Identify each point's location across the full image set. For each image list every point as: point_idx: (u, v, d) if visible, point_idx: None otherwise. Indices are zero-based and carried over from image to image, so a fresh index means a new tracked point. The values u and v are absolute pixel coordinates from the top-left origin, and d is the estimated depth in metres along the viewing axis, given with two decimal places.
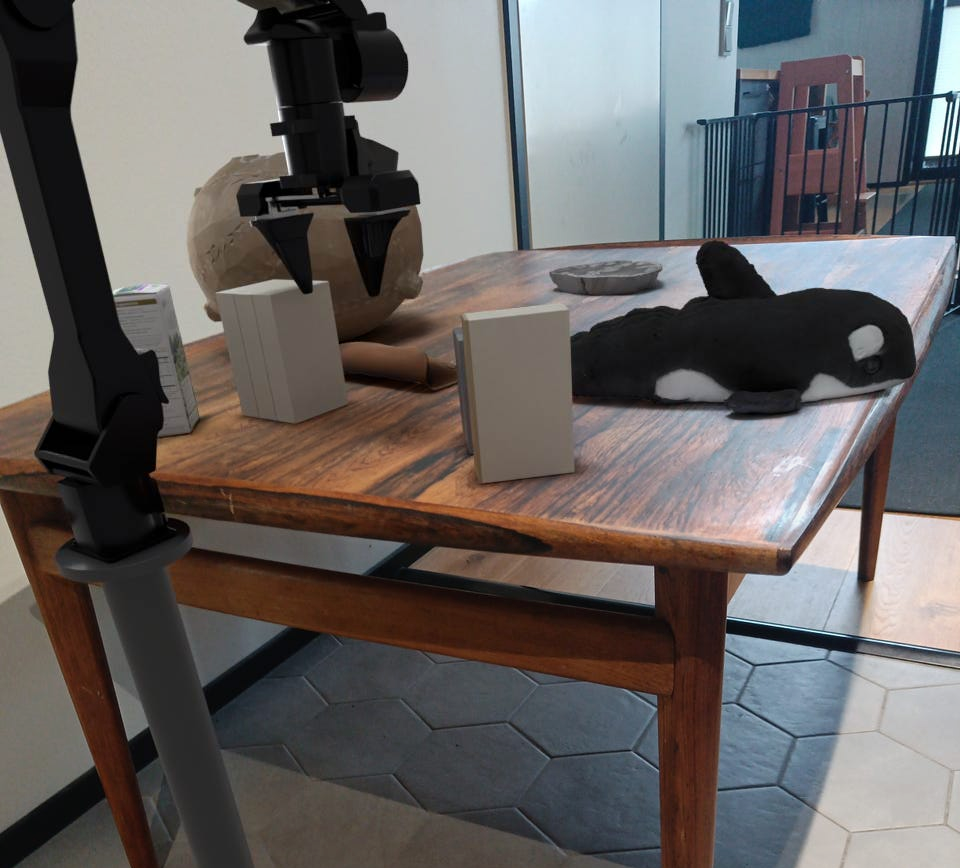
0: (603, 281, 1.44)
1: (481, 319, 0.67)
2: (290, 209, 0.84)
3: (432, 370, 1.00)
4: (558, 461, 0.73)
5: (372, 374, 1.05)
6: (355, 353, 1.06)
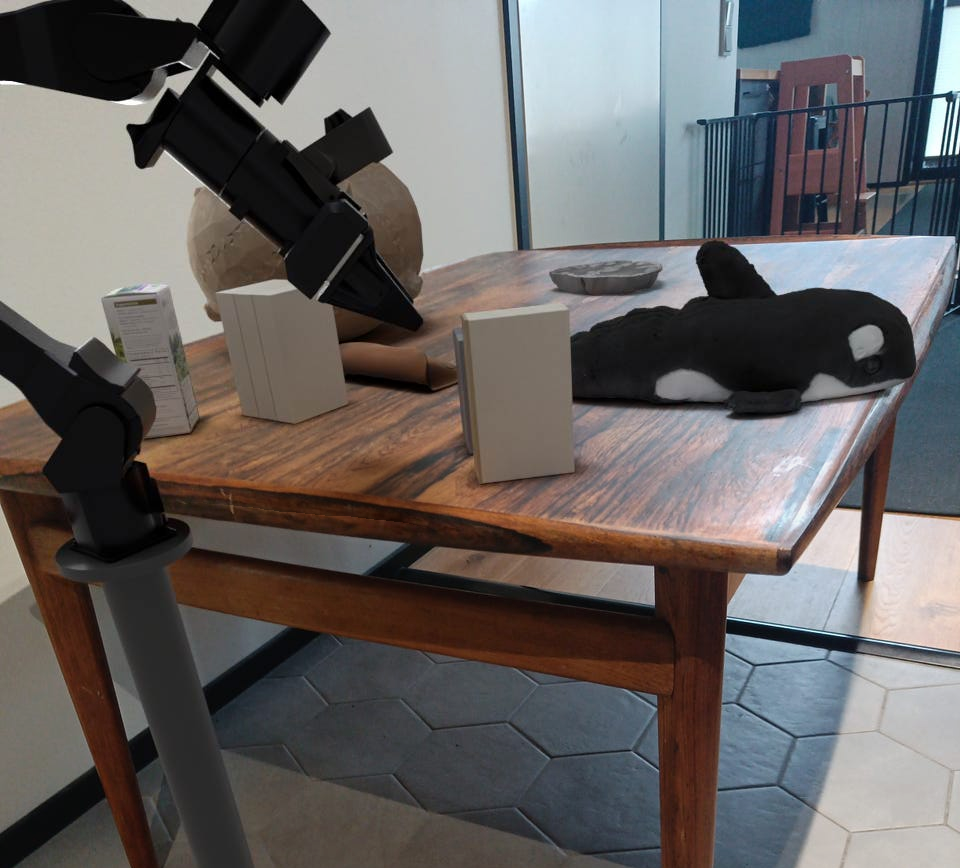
0: (603, 281, 1.44)
1: (481, 319, 0.67)
2: None
3: (431, 370, 1.00)
4: (558, 461, 0.73)
5: (371, 374, 1.05)
6: (354, 353, 1.06)
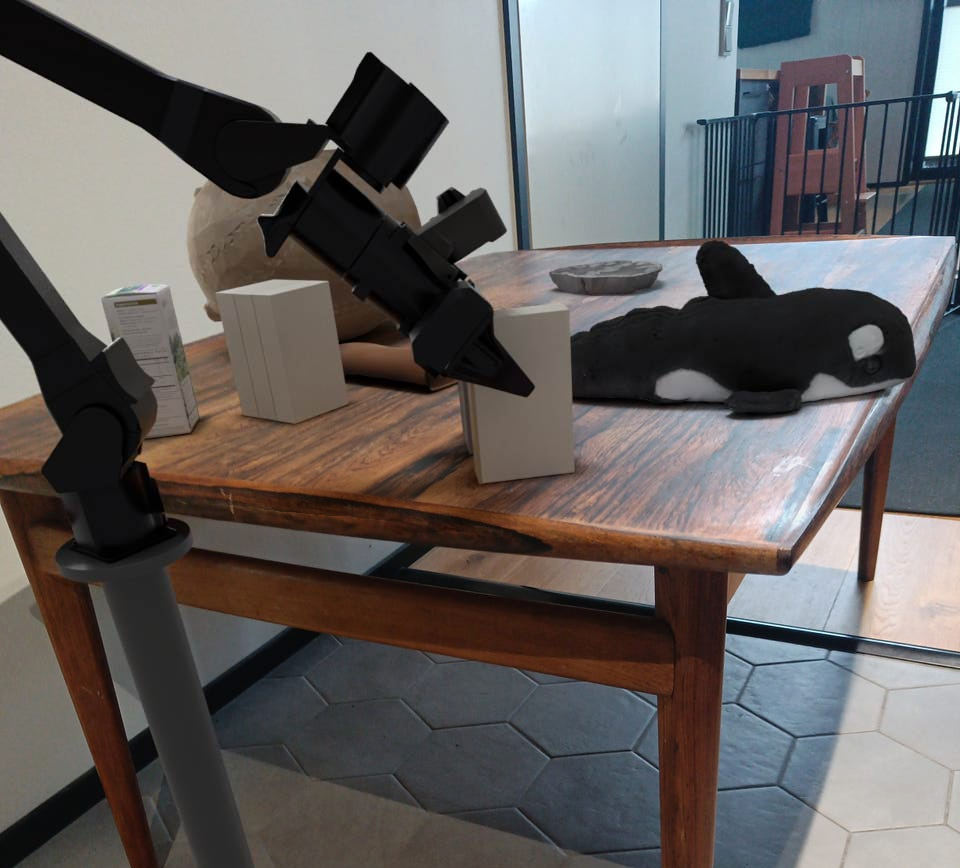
0: (603, 281, 1.44)
1: None
2: None
3: None
4: (558, 461, 0.73)
5: (370, 375, 1.04)
6: (353, 354, 1.06)
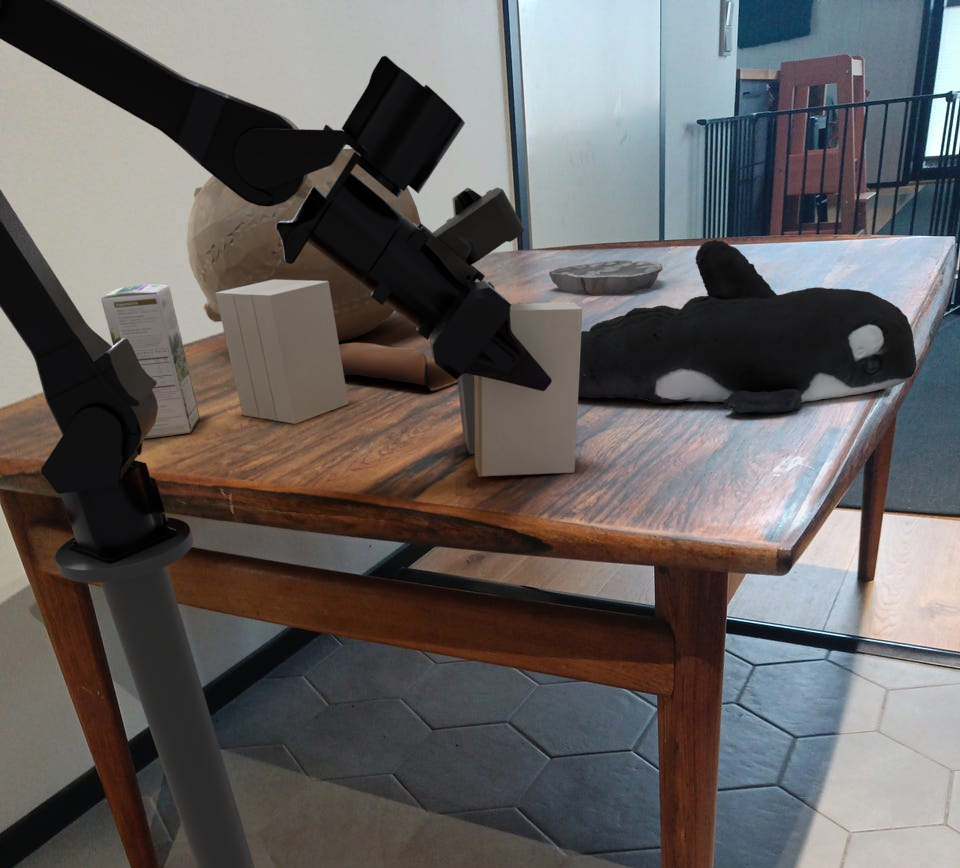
0: (603, 281, 1.44)
1: None
2: None
3: (430, 371, 0.99)
4: (559, 460, 0.73)
5: (370, 375, 1.04)
6: (352, 354, 1.06)
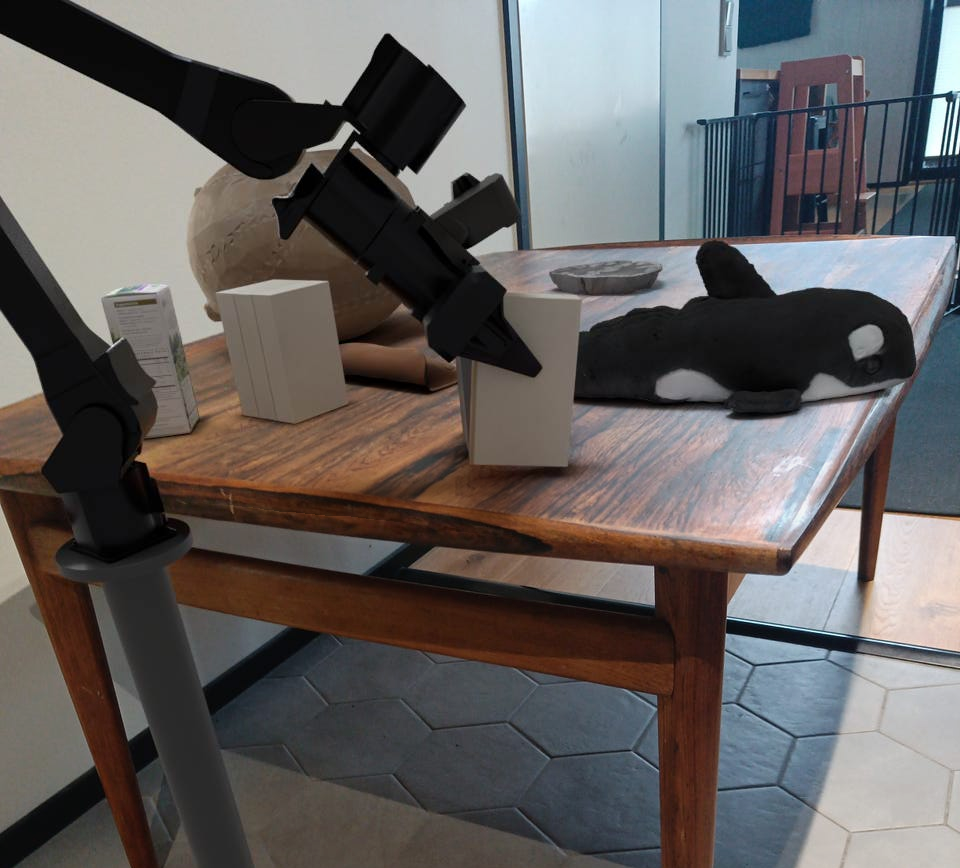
0: (603, 281, 1.44)
1: None
2: None
3: (430, 371, 0.99)
4: (552, 453, 0.72)
5: (369, 375, 1.04)
6: (352, 354, 1.06)
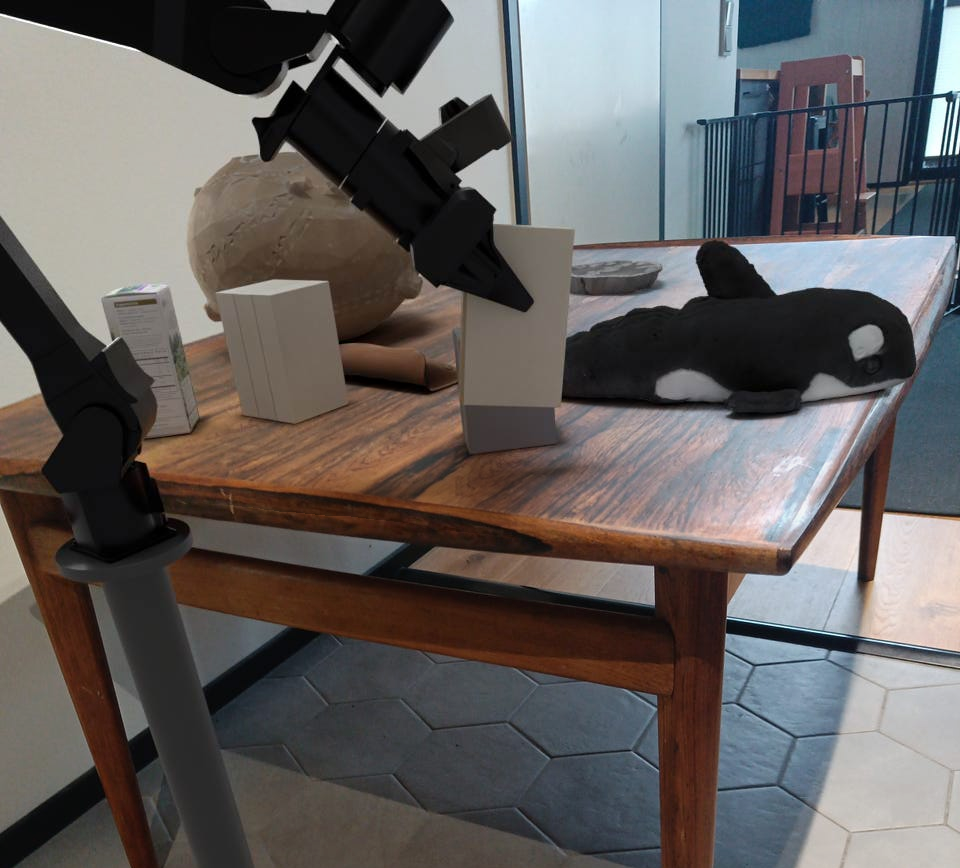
0: (603, 281, 1.44)
1: None
2: None
3: (430, 371, 0.99)
4: (545, 393, 0.70)
5: (369, 375, 1.04)
6: (351, 354, 1.06)
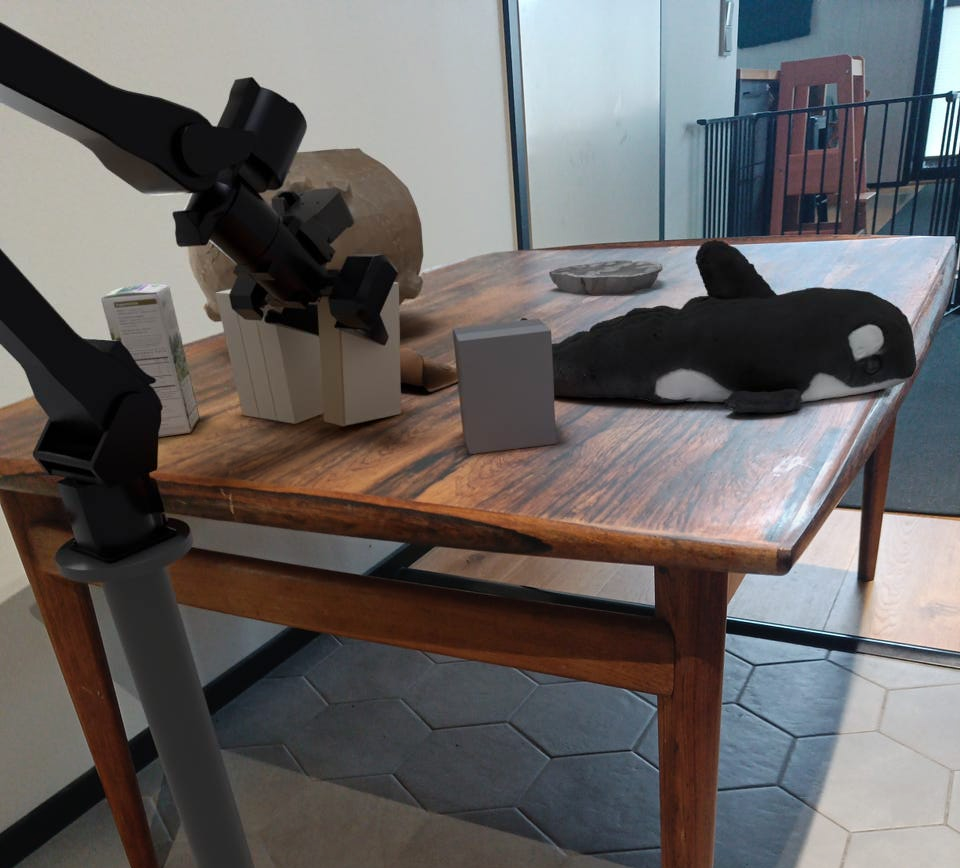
0: (603, 281, 1.44)
1: None
2: None
3: (428, 372, 0.99)
4: (392, 405, 0.93)
5: None
6: None
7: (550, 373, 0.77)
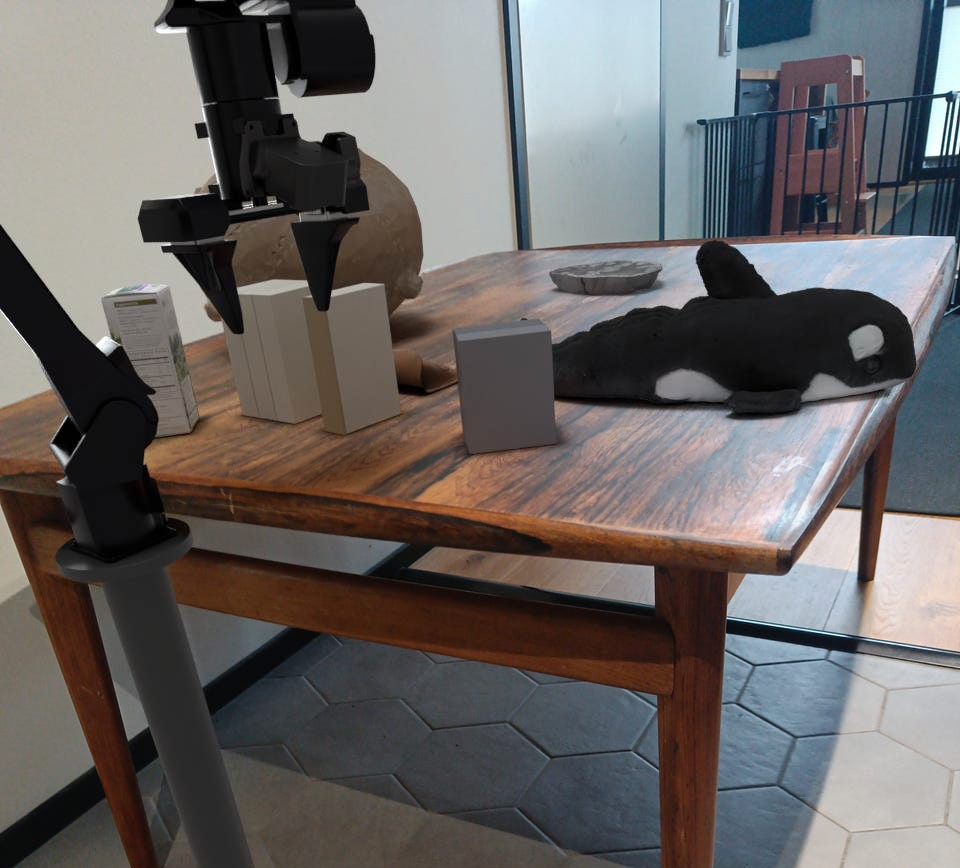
0: (603, 281, 1.44)
1: (332, 296, 0.83)
2: (316, 213, 0.73)
3: (426, 372, 0.99)
4: (391, 406, 0.93)
5: None
6: None
7: (550, 373, 0.77)
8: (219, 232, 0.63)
